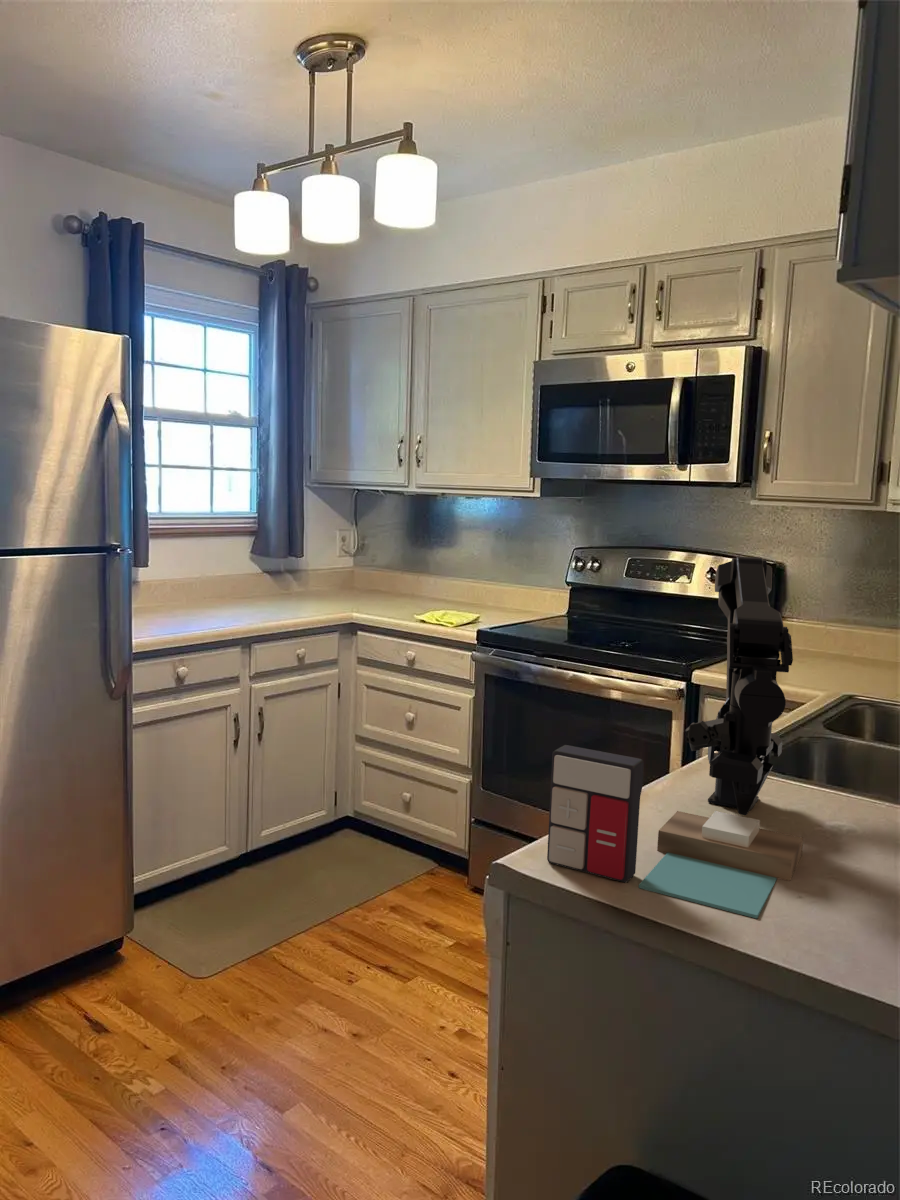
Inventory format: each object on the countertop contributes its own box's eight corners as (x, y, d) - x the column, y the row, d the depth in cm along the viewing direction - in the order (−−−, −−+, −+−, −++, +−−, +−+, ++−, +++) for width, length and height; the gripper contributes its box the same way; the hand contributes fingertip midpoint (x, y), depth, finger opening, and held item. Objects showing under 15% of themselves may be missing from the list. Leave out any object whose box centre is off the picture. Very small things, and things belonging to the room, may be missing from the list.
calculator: (544, 864, 115) (549, 751, 113) (557, 853, 118) (563, 743, 117) (625, 886, 109) (632, 767, 107) (637, 873, 113) (644, 759, 111)
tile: (714, 821, 124) (715, 810, 124) (759, 830, 121) (760, 820, 121) (701, 837, 118) (702, 826, 118) (748, 847, 115) (749, 836, 115)
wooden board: (676, 831, 128) (677, 810, 128) (801, 858, 119) (803, 837, 119) (657, 851, 120) (658, 830, 120) (789, 883, 112) (791, 860, 111)
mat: (667, 855, 119) (667, 852, 119) (776, 881, 112) (776, 878, 112) (638, 887, 109) (638, 884, 109) (757, 918, 102) (757, 915, 102)
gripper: (710, 686, 136) (702, 785, 138) (675, 710, 120) (667, 821, 122) (786, 697, 130) (778, 800, 132) (761, 723, 114) (751, 840, 116)
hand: (743, 814), depth 126 cm, fingers closed
